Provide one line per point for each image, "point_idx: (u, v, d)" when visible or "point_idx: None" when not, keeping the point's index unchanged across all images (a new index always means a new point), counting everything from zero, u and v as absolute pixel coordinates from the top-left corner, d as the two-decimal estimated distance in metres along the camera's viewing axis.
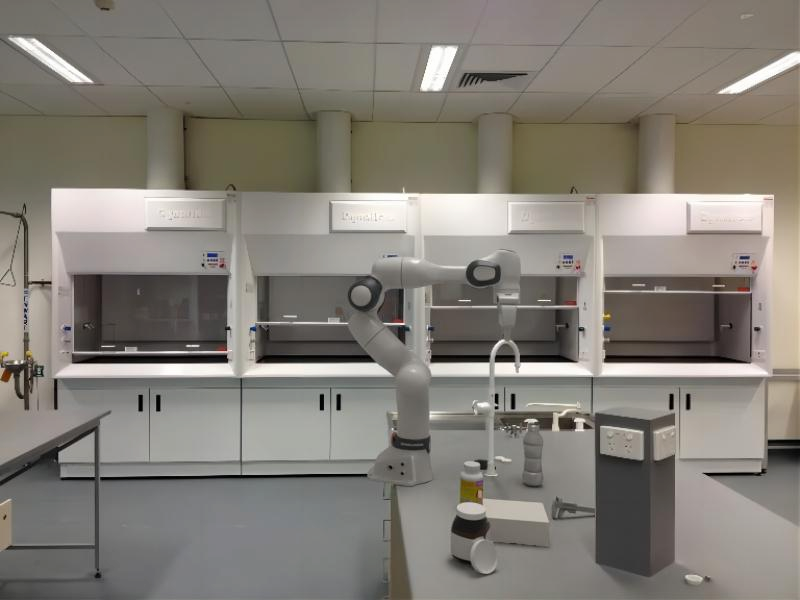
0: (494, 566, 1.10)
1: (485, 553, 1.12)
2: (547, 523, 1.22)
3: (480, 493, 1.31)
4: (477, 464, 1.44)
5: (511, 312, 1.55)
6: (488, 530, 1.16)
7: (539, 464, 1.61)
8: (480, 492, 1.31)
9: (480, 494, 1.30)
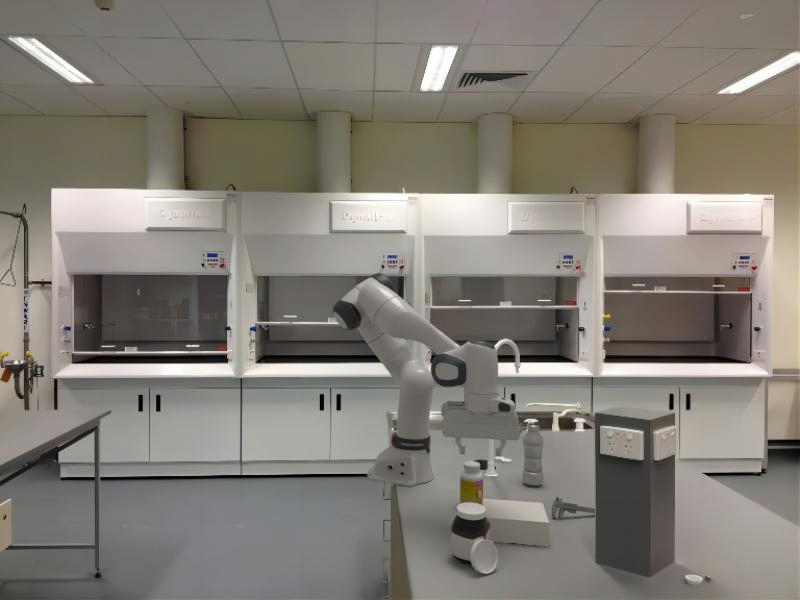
0: (494, 566, 1.10)
1: (485, 553, 1.12)
2: (547, 523, 1.22)
3: (480, 493, 1.31)
4: (477, 464, 1.44)
5: None
6: (488, 530, 1.16)
7: (539, 464, 1.61)
8: (480, 492, 1.31)
9: (480, 494, 1.30)
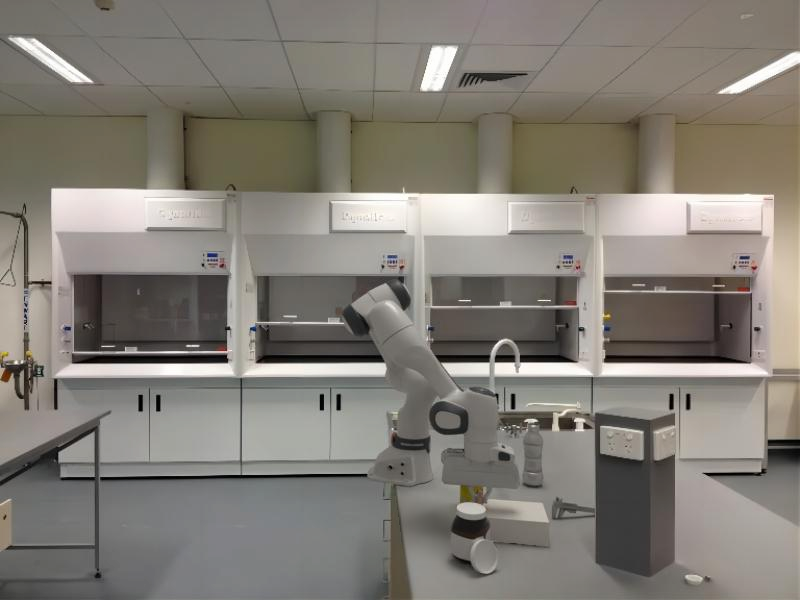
0: (494, 566, 1.10)
1: (485, 553, 1.12)
2: (547, 523, 1.22)
3: (480, 493, 1.31)
4: None
5: None
6: (488, 530, 1.16)
7: (539, 464, 1.61)
8: (480, 492, 1.31)
9: (480, 494, 1.30)
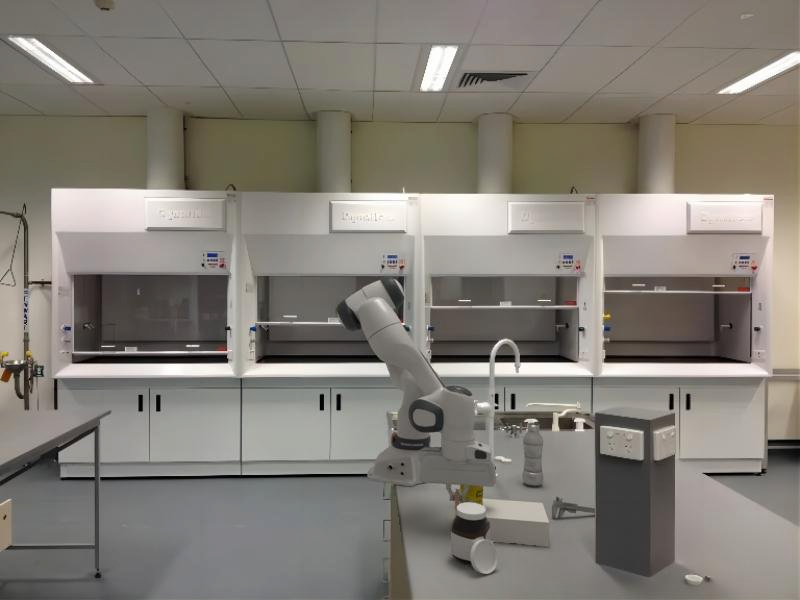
0: (494, 566, 1.10)
1: (485, 553, 1.12)
2: (547, 523, 1.22)
3: (457, 491, 1.32)
4: None
5: None
6: (488, 530, 1.16)
7: (539, 464, 1.61)
8: (458, 490, 1.32)
9: (457, 492, 1.31)
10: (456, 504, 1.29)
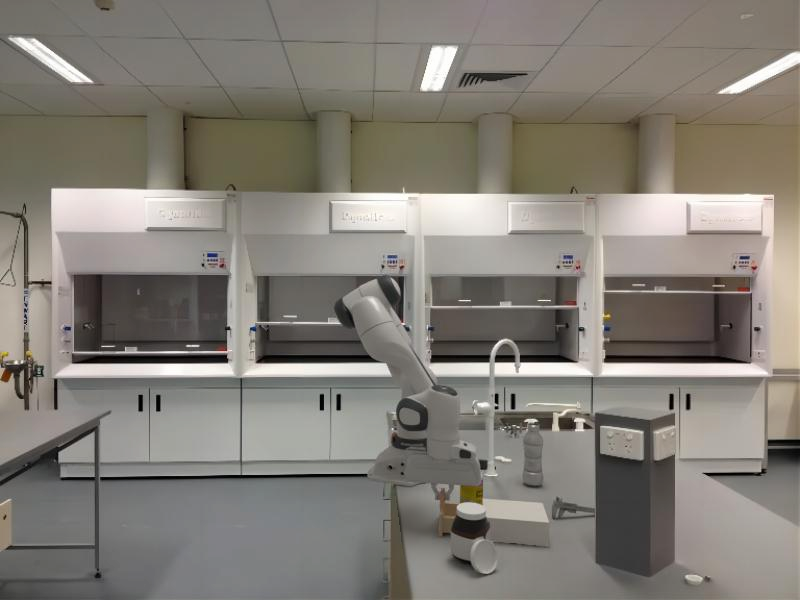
0: (494, 566, 1.10)
1: (485, 553, 1.12)
2: (547, 523, 1.22)
3: (443, 490, 1.32)
4: None
5: (479, 465, 1.31)
6: (488, 530, 1.16)
7: (539, 464, 1.61)
8: (443, 489, 1.33)
9: (442, 491, 1.31)
10: (441, 503, 1.29)
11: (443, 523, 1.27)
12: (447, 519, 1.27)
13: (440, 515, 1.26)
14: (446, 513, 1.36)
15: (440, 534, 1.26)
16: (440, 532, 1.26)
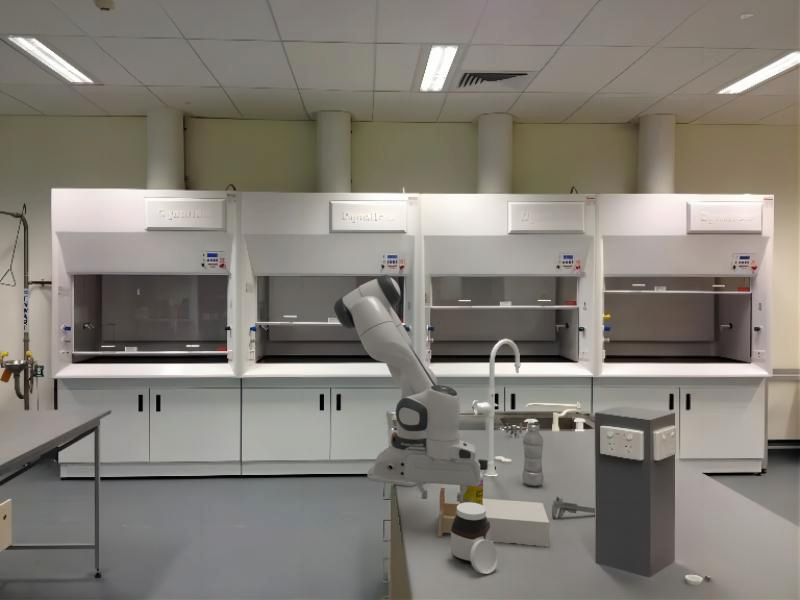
0: (494, 566, 1.10)
1: (485, 553, 1.12)
2: (547, 523, 1.22)
3: (442, 490, 1.32)
4: None
5: None
6: (488, 530, 1.16)
7: (539, 464, 1.61)
8: (442, 489, 1.33)
9: (442, 491, 1.31)
10: (441, 503, 1.29)
11: (443, 523, 1.27)
12: (446, 518, 1.27)
13: (440, 515, 1.26)
14: (446, 513, 1.36)
15: (440, 534, 1.26)
16: (440, 532, 1.26)
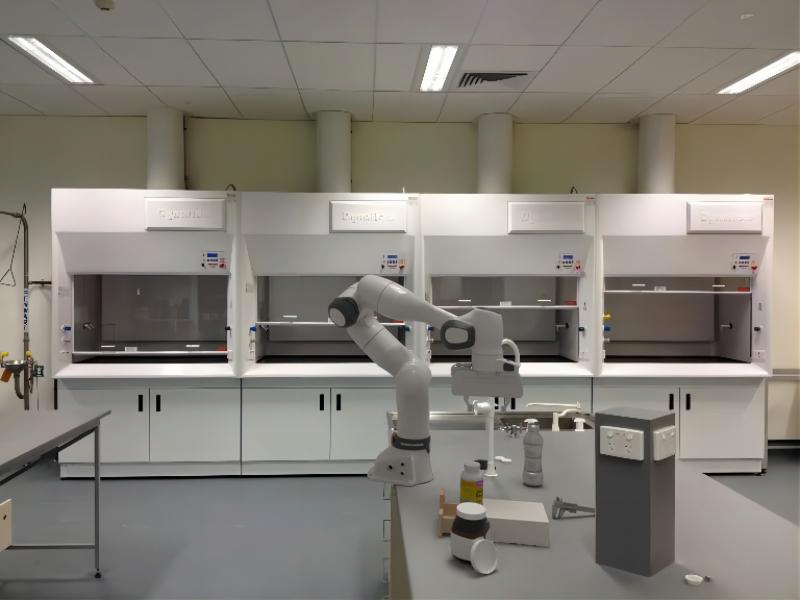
0: (494, 566, 1.10)
1: (485, 553, 1.12)
2: (547, 523, 1.22)
3: (442, 490, 1.32)
4: (477, 464, 1.44)
5: None
6: (488, 530, 1.16)
7: (539, 464, 1.61)
8: (442, 489, 1.33)
9: (442, 491, 1.31)
10: (441, 503, 1.29)
11: (443, 523, 1.27)
12: (446, 518, 1.27)
13: (440, 515, 1.26)
14: (446, 513, 1.36)
15: (440, 534, 1.26)
16: (440, 532, 1.26)
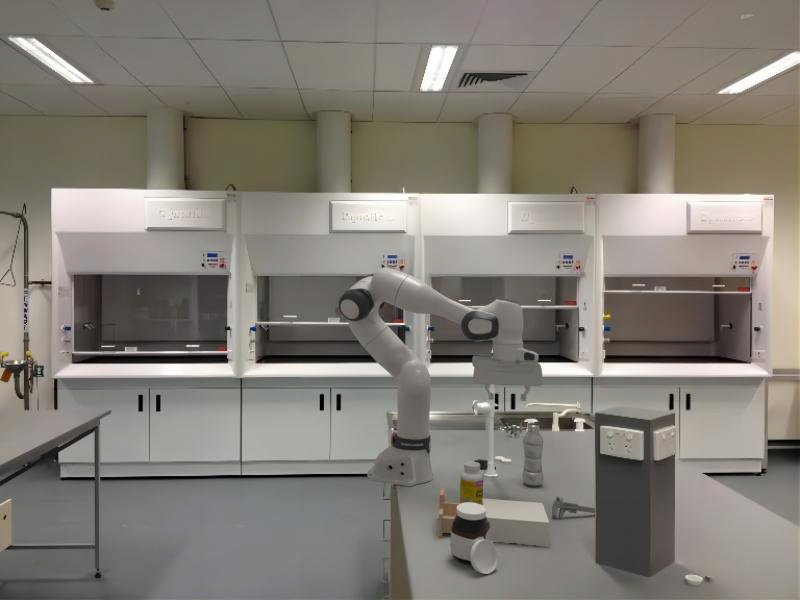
0: (494, 566, 1.10)
1: (485, 553, 1.12)
2: (547, 523, 1.22)
3: (442, 490, 1.32)
4: (477, 464, 1.44)
5: None
6: (488, 530, 1.16)
7: (539, 464, 1.61)
8: (442, 489, 1.33)
9: (442, 491, 1.31)
10: (441, 503, 1.29)
11: (443, 523, 1.27)
12: (446, 518, 1.27)
13: (440, 515, 1.26)
14: (446, 513, 1.36)
15: (440, 534, 1.26)
16: (440, 532, 1.26)
